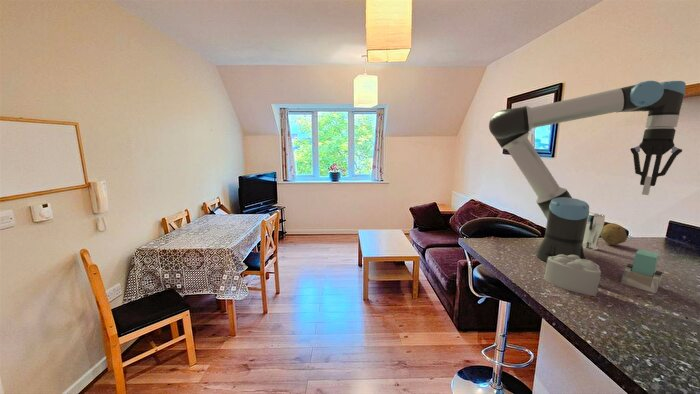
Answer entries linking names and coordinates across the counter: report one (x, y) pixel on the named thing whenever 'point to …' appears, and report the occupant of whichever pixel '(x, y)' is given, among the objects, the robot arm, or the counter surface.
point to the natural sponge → (613, 234)
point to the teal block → (645, 262)
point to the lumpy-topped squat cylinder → (573, 273)
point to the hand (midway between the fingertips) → (645, 194)
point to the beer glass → (593, 230)
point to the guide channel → (641, 279)
